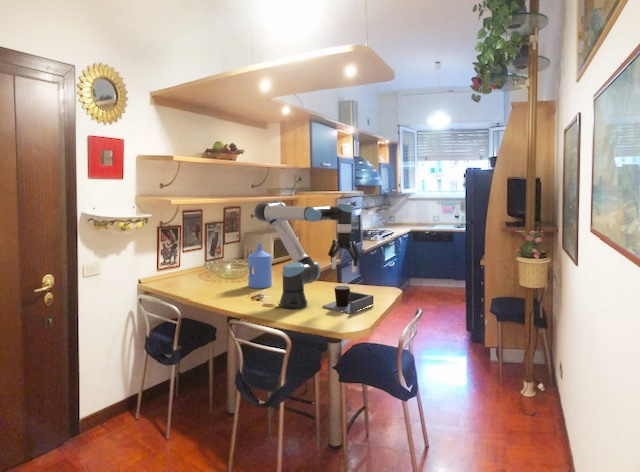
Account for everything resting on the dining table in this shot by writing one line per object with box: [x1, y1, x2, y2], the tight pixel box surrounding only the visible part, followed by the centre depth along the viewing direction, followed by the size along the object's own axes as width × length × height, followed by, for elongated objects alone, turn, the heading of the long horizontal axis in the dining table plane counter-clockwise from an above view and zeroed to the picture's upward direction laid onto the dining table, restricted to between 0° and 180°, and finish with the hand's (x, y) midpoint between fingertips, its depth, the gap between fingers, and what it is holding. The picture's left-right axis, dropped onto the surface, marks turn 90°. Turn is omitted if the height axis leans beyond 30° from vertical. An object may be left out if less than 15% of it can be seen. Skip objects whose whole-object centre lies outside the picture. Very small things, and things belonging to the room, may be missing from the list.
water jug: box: [247, 244, 273, 290], centre depth 283 cm, size 16×16×28 cm
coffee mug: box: [333, 285, 351, 307], centre depth 234 cm, size 12×9×10 cm
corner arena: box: [321, 290, 374, 314], centre depth 234 cm, size 20×20×6 cm
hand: (343, 270), depth 232 cm, fingers open, 13 cm apart
